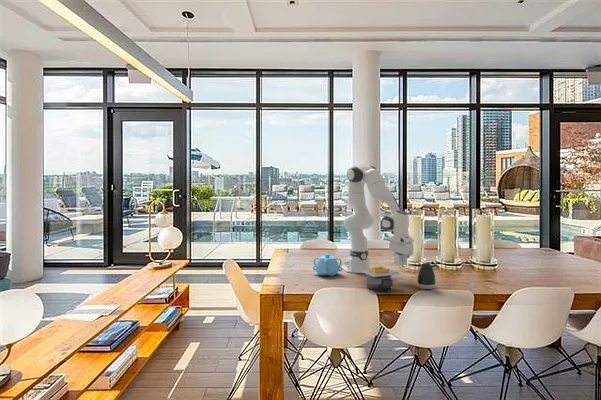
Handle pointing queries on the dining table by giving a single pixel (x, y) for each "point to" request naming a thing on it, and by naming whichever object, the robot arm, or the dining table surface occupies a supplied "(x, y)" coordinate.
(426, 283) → the pump dispenser
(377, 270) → the clip collar
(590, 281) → the dining table surface
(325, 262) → the decorative pot
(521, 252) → the dining table surface
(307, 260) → the dining table surface
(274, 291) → the dining table surface
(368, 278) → the motor
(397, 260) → the pump housing
